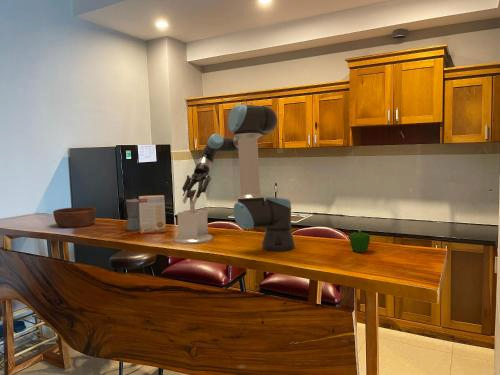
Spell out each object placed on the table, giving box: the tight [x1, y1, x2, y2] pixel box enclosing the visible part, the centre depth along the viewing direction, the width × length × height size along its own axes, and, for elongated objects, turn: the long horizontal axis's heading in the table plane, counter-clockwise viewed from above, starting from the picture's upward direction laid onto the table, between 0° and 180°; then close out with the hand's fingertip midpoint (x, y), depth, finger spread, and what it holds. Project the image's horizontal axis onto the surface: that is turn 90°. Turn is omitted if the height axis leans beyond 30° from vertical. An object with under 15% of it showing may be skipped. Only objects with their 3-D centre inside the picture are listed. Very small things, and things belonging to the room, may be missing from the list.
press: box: [172, 209, 214, 245], centre depth 188 cm, size 20×20×14 cm
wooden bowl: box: [52, 206, 97, 229], centre depth 235 cm, size 25×25×10 cm
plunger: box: [187, 189, 197, 212], centre depth 188 cm, size 8×8×22 cm
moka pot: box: [120, 195, 140, 232], centre depth 217 cm, size 10×15×20 cm, turn 78°
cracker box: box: [138, 194, 167, 235], centre depth 208 cm, size 14×6×21 cm, turn 105°
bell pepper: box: [349, 229, 371, 253], centre depth 160 cm, size 8×8×10 cm
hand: (188, 201), depth 184 cm, fingers closed on plunger, 5 cm apart
